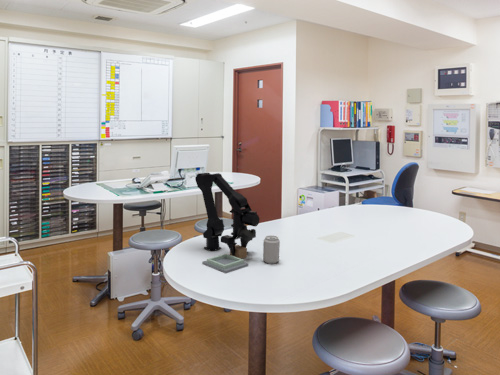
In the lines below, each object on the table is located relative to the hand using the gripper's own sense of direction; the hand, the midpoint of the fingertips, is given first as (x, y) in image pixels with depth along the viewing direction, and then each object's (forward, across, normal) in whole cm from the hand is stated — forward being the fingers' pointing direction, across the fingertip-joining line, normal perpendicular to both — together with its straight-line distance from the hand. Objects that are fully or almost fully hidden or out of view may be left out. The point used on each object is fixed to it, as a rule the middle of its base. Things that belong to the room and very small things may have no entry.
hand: (238, 253), depth 202 cm
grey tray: (+1, -13, -5) cm, 14 cm away
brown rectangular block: (+1, 0, 0) cm, 1 cm away
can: (+1, +6, -16) cm, 17 cm away
